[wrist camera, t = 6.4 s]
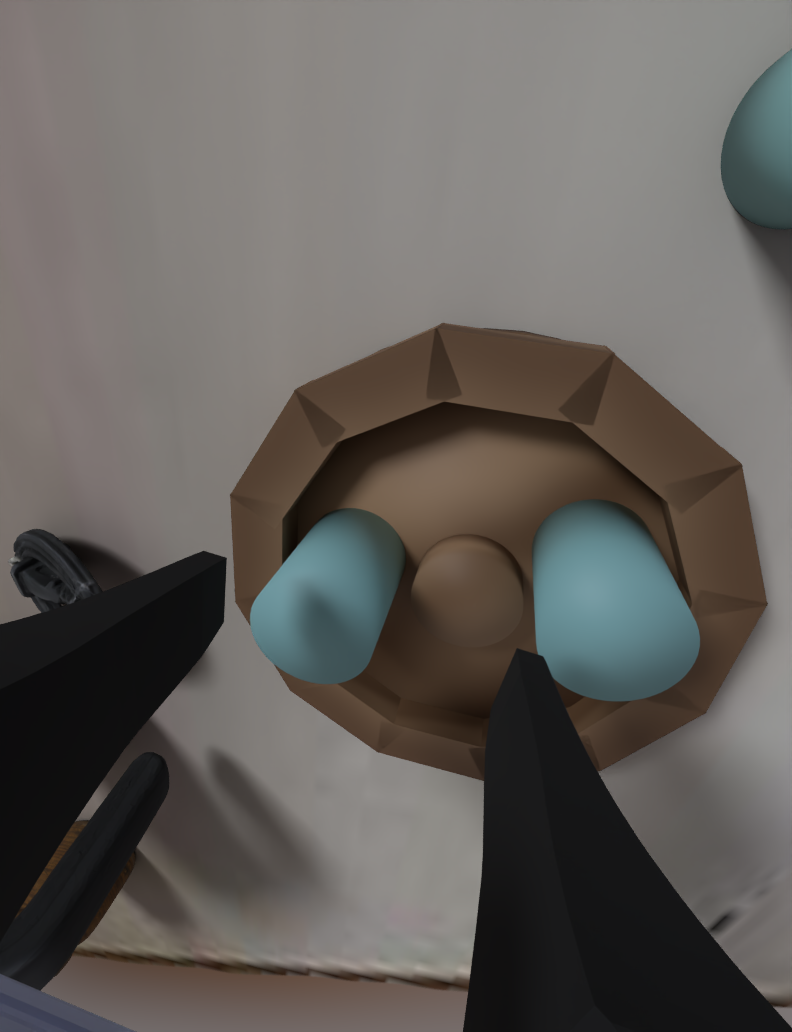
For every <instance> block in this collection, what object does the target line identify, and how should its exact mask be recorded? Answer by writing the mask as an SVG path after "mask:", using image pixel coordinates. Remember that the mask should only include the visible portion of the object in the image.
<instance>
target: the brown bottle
mask: <svg viewBox="0 0 792 1032" xmlns="http://www.w3.org/2000/svg"><path fill="white" fill-rule="evenodd" d="M88 822H89V821H76V822H74V824H73V825H72V827H71V828H70V830H69V831H68V833H67V834H66V836H65V837H64V839H63V840H62V842H61V844H60V845H59V847H58V848H57V850H56V852H55V853H54V855H53V856H52V858H51V859H50V861H49V863H48V864H47V866H46V867H45V869H44V871H43V872H42V874H41V875H40V877H39V878H38V880H37V882H36V883H35V885H34V887H33V888H32V890H31V892H30V893H29V895H28V897H27V898H26V900H25V902H24V903H23V905H22V907H21V908H20V910H19V912H18V913H17V915H16V917H17V916H18V915H19V914H20V913H21V912H22V911H23V909H24V908H25V907H26V906H27V904H28V903H29V902H30V901H31V899H32V898H33V897H34V896H35V895H36V893H37V892H38V891H39V889H40V888H41V886H42V885H43V884H44V882H45V881H46V879H47V878H48V876H49V875H50V873H51V872H52V870H53V869H54V868H55V866H56V865H57V864H58V862H59V861H60V860H61V858H62V857H63V855H64V854H65V853H66V851H67V850H68V849H69V847H70V846H71V845H72V843H73V842H74V841H75V839H76V838H77V837H78V835H79V834H80V833H81V831H82V830H83V829H84V827H85V826H86V825H87V823H88ZM134 865H135V854H134V852H133V853H132V855H131V857H130V859H129V860H128V862H127V864H126V866H125V867H124V869H123V871H122V872H121V874H120V875H119V877H118V879H117V880H116V882H115V884H114V885H113V887H112V889H111V890H110V892H109V894H108V895H107V897H106V899H105V900H104V902H103V904H102V905H101V907H100V909H99V910H98V912H97V914H96V915H95V917H94V919H93V920H92V922H91V924H90V925H89V927H88V929H87V931H86V932H85V934H84V935H83V937H82V939H81V940H80V942H79V943H78V945H79V944H80V943H82V942H83V941H85V940H86V939H87V938H88V937H89V936H90V934H91V933H92V932H93V931H94V929H95V928H96V927H97V925H98V924H99V922H100V921H101V919H102V918H103V916H104V915H105V913H106V912H107V910H108V909H109V907H110V906H111V904H112V903H113V901H114V899H115V898H116V896H117V895H118V893H119V892H120V890H121V888H122V887H123V885H124V884H125V882H126V880H127V879H128V877H129V875H130V873H131V872H132V870H133V867H134ZM16 917H15V918H16ZM15 918H14V919H15ZM71 956H72V954H71ZM71 956H70V957H69V959H68V960H67V961H66V963H65V964H64V965H63V967H62V968H61V969H60V970H59V971H58V973H59V972H60V971H61V970H62V969H63V968H64V966H65V965H66V964H67V963H68V961H69V960H70V958H71ZM58 973H57V974H58ZM57 974H56V975H57ZM56 975H55V976H56ZM55 976H54V977H55Z"/></svg>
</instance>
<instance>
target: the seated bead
mask: <svg viewBox="0 0 792 1032" xmlns="http://www.w3.org/2000/svg"><path fill="white" fill-rule="evenodd" d="M532 570H533V590H534V610H535V630H536V646H537V652H538V655H541V656H543V657H544V659H545V660H546V663H547V665H548V667H549V670H550V672H551V675H552V677H553V678H554V679H555V680H556V681H557V682H558V683H560V684H561V685H563V686H564V687H566V688H567V689H569V690H571V691H573V692H575V693H578V694H580V695H583V696H586V697H589V698H592V699H598V700H603V701H633V700H638V699H643V698H647V697H650V696H653V695H656V694H659V693H661V692H663V691H665V690H667V689H669V688H670V687H672V686H673V685H675V684H676V683H678V682H679V681H680V680H681V679H682V678H683V677H684V676H685V675H686V674H687V673H688V672H689V671H690V669H691V668H692V666H693V664H694V663H695V661H696V658H697V656H698V652H699V648H700V635H699V629H698V626H697V623H696V621H695V619H694V617H693V615H692V613H691V611H690V609H689V607H688V605H687V603H686V601H685V599H684V597H683V595H682V593H681V591H680V590H679V588H678V586H677V584H676V582H675V580H674V578H673V576H672V574H671V572H670V570H669V568H668V566H667V564H666V562H665V560H664V558H663V556H662V554H661V552H660V550H659V548H658V546H657V544H656V542H655V540H654V538H653V536H652V534H651V533H650V531H649V529H648V527H647V525H646V523H645V522H644V521H643V520H642V518H641V517H640V516H639V515H638V514H636V513H635V512H634V511H632V510H631V509H629V508H628V507H626V506H624V505H621V504H619V503H616V502H612V501H608V500H601V499H589V500H581V501H577V502H573V503H570V504H567V505H565V506H563V507H561V508H559V509H557V510H556V511H554V512H553V513H552V514H550V515H549V516H548V517H547V518H546V519H545V520H544V521H543V522H542V523H541V525H540V526H539V528H538V529H537V531H536V533H535V536H534V539H533V543H532Z"/></svg>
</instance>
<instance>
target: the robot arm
mask: <svg viewBox="0 0 792 1032" xmlns="http://www.w3.org/2000/svg"><path fill="white" fill-rule="evenodd" d="M226 560H227V558H225V557H222V556H219V555H215V554H212V553H209V552H206V551H202V552H199V553H197V554H194V555H192V556H189V557H187V558H184V559H182V560H180V561H177V562H175V563H173V564H170V565H168V566H166V567H163V568H161V569H158V570H156V571H154V572H151V573H149V574H147V575H144V576H142V577H139V578H137V579H134V580H132V581H130V582H127V583H125V584H122V585H120V586H117V587H115V588H112V589H109V590H106V591H104V592H101V593H98V594H96V595H93V596H90V597H88V598H85V599H82V600H80V601H77V602H74V603H71V604H68V605H65V606H62V607H59V608H56V609H53V610H50V611H47V612H43V613H40V614H36V615H33V616H30V617H26V618H23V619H19V620H16V621H12V622H8V623H4V624H0V942H1V940H2V938H3V937H4V935H5V933H6V932H7V930H8V928H9V927H10V925H11V923H12V922H13V920H14V918H15V917H16V915H17V913H18V912H19V910H20V908H21V907H22V905H23V903H24V902H25V900H26V898H27V897H28V895H29V893H30V892H31V890H32V888H33V887H34V885H35V883H36V882H37V880H38V878H39V877H40V875H41V874H42V872H43V871H44V869H45V867H46V866H47V864H48V863H49V861H50V859H51V858H52V856H53V855H54V853H55V852H56V850H57V848H58V847H59V845H60V844H61V842H62V840H63V839H64V837H65V836H66V834H67V833H68V831H69V830H70V828H71V827H72V825H73V824H74V822H75V821H76V819H77V818H78V816H79V815H80V813H81V812H82V810H83V809H84V807H85V806H86V804H87V803H88V801H89V800H90V798H91V797H92V795H93V794H94V792H95V791H96V789H97V788H98V786H99V785H100V783H101V782H102V780H103V779H104V778H105V776H106V775H107V773H108V772H109V770H110V769H111V768H112V766H113V765H114V763H115V762H116V760H117V759H118V758H119V756H120V755H121V753H122V752H123V750H124V749H125V748H126V746H127V745H128V744H129V743H130V741H131V740H132V739H133V737H134V736H135V735H136V734H137V732H138V731H139V730H140V729H141V728H142V726H143V725H144V724H145V723H146V722H147V721H148V719H149V718H150V717H151V716H152V715H153V713H154V712H155V711H156V710H157V709H158V708H159V706H160V705H161V704H162V703H163V702H164V701H165V699H166V698H167V697H168V696H169V695H170V694H171V692H172V691H173V690H174V689H175V688H176V686H177V685H178V684H179V683H180V682H181V681H182V679H183V678H184V677H185V676H186V675H187V673H188V672H189V671H190V670H191V669H192V667H193V666H194V665H195V664H196V663H197V661H198V660H199V659H200V658H201V656H202V655H203V654H204V652H205V651H206V649H207V648H208V646H209V645H210V643H211V642H212V640H213V638H214V637H215V635H216V634H217V632H218V630H219V629H220V627H221V626H222V624H223V622H224V606H225V583H226ZM0 1032H135V1031H133V1030H131V1029H129V1028H126V1027H124V1026H122V1025H119V1024H117V1023H115V1022H112V1021H110V1020H107V1019H105V1018H103V1017H100V1016H98V1015H96V1014H93V1013H91V1012H88V1011H86V1010H84V1009H82V1008H79V1007H77V1006H75V1005H72V1004H70V1003H67V1002H65V1001H63V1000H60V999H58V998H55V997H53V996H51V995H48V994H46V993H44V992H42V991H39V990H37V989H35V988H32V987H30V986H28V985H25V984H23V983H20V982H18V981H16V980H13V979H11V978H9V977H6V976H4V975H2V974H0ZM463 1032H792V1028H791V1027H790V1025H789V1024H788V1023H787V1022H786V1021H785V1020H784V1019H783V1018H782V1016H781V1015H780V1014H779V1013H778V1012H777V1011H776V1010H775V1009H774V1008H773V1006H772V1005H771V1004H770V1003H769V1002H768V1001H767V1000H766V999H765V998H764V996H763V995H762V994H761V993H760V992H759V991H758V990H757V989H756V988H755V986H754V985H753V984H752V983H751V982H750V981H749V980H748V979H747V978H746V976H745V975H744V974H743V973H742V972H741V971H740V970H739V968H738V967H737V966H736V965H735V964H734V963H733V961H732V960H731V959H730V958H729V957H728V955H727V954H726V953H725V952H724V951H723V949H722V948H721V947H720V946H719V944H718V943H717V942H716V941H715V940H714V938H713V937H712V936H711V935H710V934H709V932H708V931H707V930H706V929H705V927H704V926H703V925H702V924H701V923H700V921H699V920H698V919H697V918H696V916H695V915H694V914H693V912H692V911H691V910H690V909H689V907H688V906H687V905H686V903H685V902H684V901H683V900H682V898H681V897H680V896H679V894H678V893H677V892H676V890H675V889H674V888H673V886H672V885H671V884H670V882H669V881H668V879H667V878H666V877H665V875H664V874H663V873H662V871H661V870H660V869H659V867H658V866H657V864H656V863H655V862H654V860H653V859H652V858H651V856H650V855H649V853H648V852H647V850H646V849H645V848H644V846H643V845H642V843H641V842H640V840H639V839H638V837H637V836H636V834H635V833H634V831H633V830H632V828H631V827H630V825H629V823H628V822H627V820H626V819H625V817H624V816H623V814H622V813H621V811H620V809H619V808H618V806H617V805H616V803H615V801H614V800H613V798H612V796H611V795H610V793H609V791H608V789H607V788H606V786H605V784H604V782H603V781H602V779H601V777H600V775H599V773H598V772H597V770H596V768H595V766H594V764H593V762H592V761H591V759H590V757H589V755H588V753H587V751H586V749H585V747H584V745H583V743H582V741H581V739H580V737H579V735H578V733H577V731H576V729H575V727H574V724H573V722H572V720H571V718H570V716H569V714H568V712H567V710H566V707H565V705H564V703H563V701H562V698H561V696H560V694H559V691H558V689H557V687H556V684H555V682H554V680H553V677H552V675H551V672H550V670H549V667H548V665H547V663H546V660H545V659H544V657H543V656H541V655H538V654H534V653H531V652H528V651H525V650H522V649H518V648H517V649H516V651H515V653H514V656H513V658H512V660H511V663H510V665H509V667H508V670H507V672H506V674H505V677H504V679H503V681H502V684H501V686H500V689H499V691H498V693H497V696H496V698H495V700H494V703H493V705H492V707H491V711H490V718H489V725H488V732H487V740H486V747H485V771H484V823H483V862H482V878H481V888H480V897H479V906H478V915H477V924H476V933H475V941H474V950H473V958H472V966H471V974H470V983H469V990H468V998H467V1005H466V1013H465V1021H464V1028H463Z"/></svg>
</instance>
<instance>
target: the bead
mask: <svg viewBox="0 0 792 1032" xmlns="http://www.w3.org/2000/svg"><path fill="white" fill-rule="evenodd" d="M405 564H406V554H405V549H404V545H403V543H402V540H401V538H400V537H399V535H398V533H397V532H396V531H395V529H394V528H393V527H392V526H391V525H390V524H389V523H388V522H386V521H385V520H384V519H382V518H381V517H380V516H378V515H376V514H374V513H372V512H369V511H366V510H362V509H357V508H342V509H337V510H334V511H331V512H329V513H327V514H325V515H324V516H323V517H321V518H320V519H319V520H318V521H317V522H316V523H315V525H314V526H313V527H312V528H311V530H310V531H309V532H308V533H307V535H306V536H305V537H304V538H303V540H302V541H301V542H300V544H299V545H298V546H297V547H296V549H295V550H294V551H293V552H292V554H291V555H290V556H289V557H288V559H287V560H286V561H285V562H284V564H283V565H282V566H281V567H280V569H279V570H278V571H277V572H276V574H275V575H274V576H273V577H272V579H271V580H270V581H269V582H268V584H267V585H266V586H265V587H264V589H263V590H262V591H261V592H260V594H259V595H258V596H257V598H256V599H255V601H254V603H253V605H252V608H251V613H250V624H251V630H252V633H253V636H254V638H255V641H256V643H257V644H258V646H259V648H260V649H261V651H262V652H263V653H264V654H265V655H266V657H267V658H268V659H269V660H270V661H271V662H272V663H273V664H275V665H276V666H277V667H279V668H280V669H281V670H283V671H284V672H286V673H288V674H290V675H292V676H294V677H296V678H298V679H301V680H304V681H307V682H312V683H317V684H337V683H342V682H345V681H348V680H351V679H353V678H354V677H356V676H358V675H359V674H360V673H361V672H362V671H363V670H364V669H365V668H366V667H367V665H368V663H369V662H370V659H371V657H372V654H373V651H374V649H375V646H376V643H377V641H378V638H379V636H380V633H381V630H382V628H383V625H384V622H385V620H386V617H387V614H388V612H389V609H390V606H391V604H392V601H393V598H394V596H395V593H396V590H397V588H398V585H399V583H400V580H401V577H402V575H403V572H404V569H405Z"/></svg>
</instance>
